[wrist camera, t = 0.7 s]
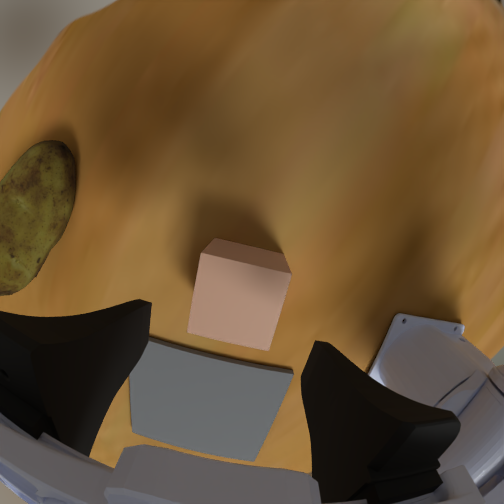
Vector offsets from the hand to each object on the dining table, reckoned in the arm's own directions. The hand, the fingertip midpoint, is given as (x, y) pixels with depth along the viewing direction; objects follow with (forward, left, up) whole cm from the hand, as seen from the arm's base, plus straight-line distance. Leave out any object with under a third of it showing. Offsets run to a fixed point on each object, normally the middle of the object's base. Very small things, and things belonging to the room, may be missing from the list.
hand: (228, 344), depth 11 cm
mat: (+1, +14, -9) cm, 17 cm away
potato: (+18, -1, -9) cm, 20 cm away
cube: (0, 0, -9) cm, 9 cm away
